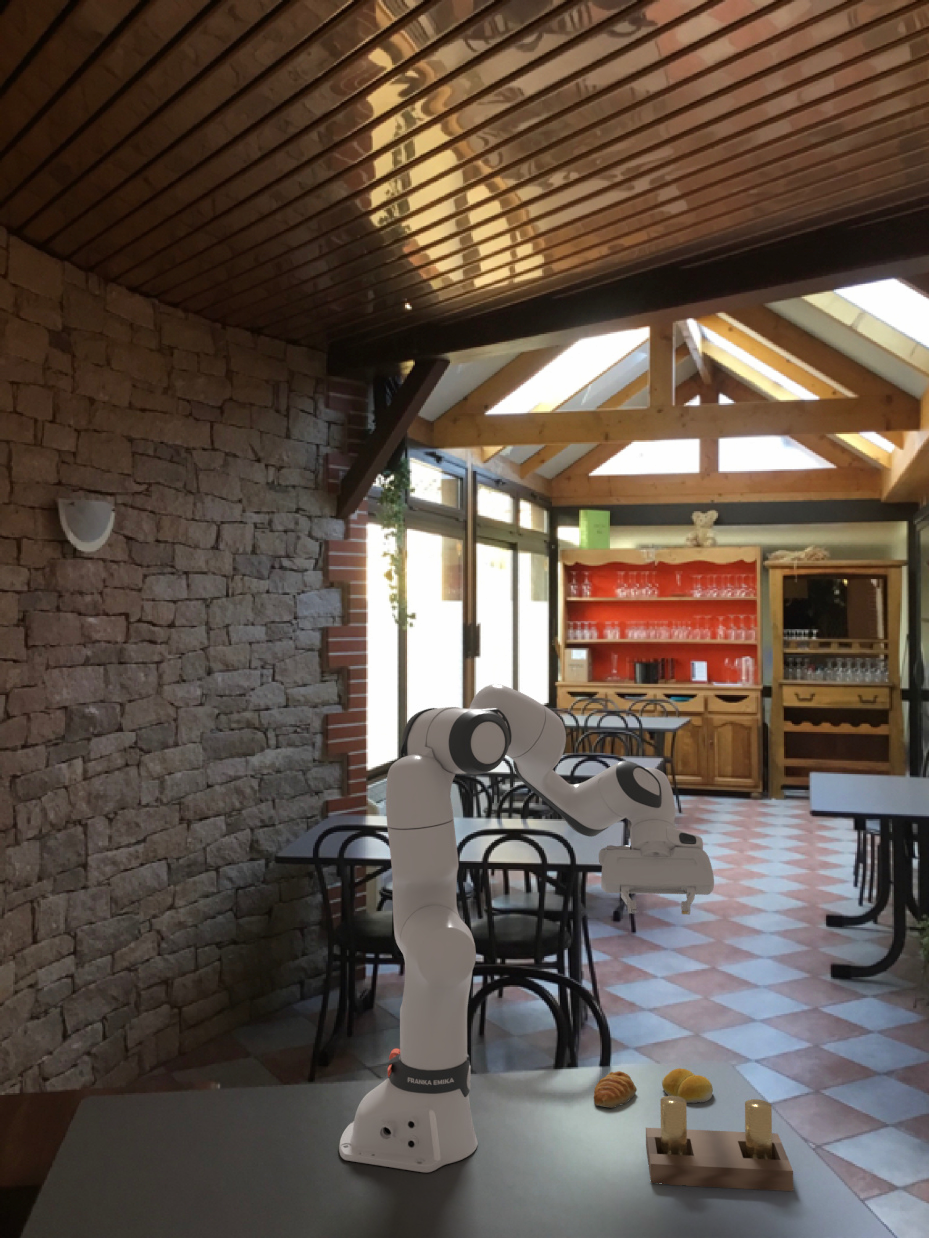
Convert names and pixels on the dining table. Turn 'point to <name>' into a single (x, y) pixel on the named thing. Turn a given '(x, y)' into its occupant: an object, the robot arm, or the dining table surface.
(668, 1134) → the loose billet
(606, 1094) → the pastry
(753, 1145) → the seated billet
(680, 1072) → the bread roll
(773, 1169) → the wooden socket block
